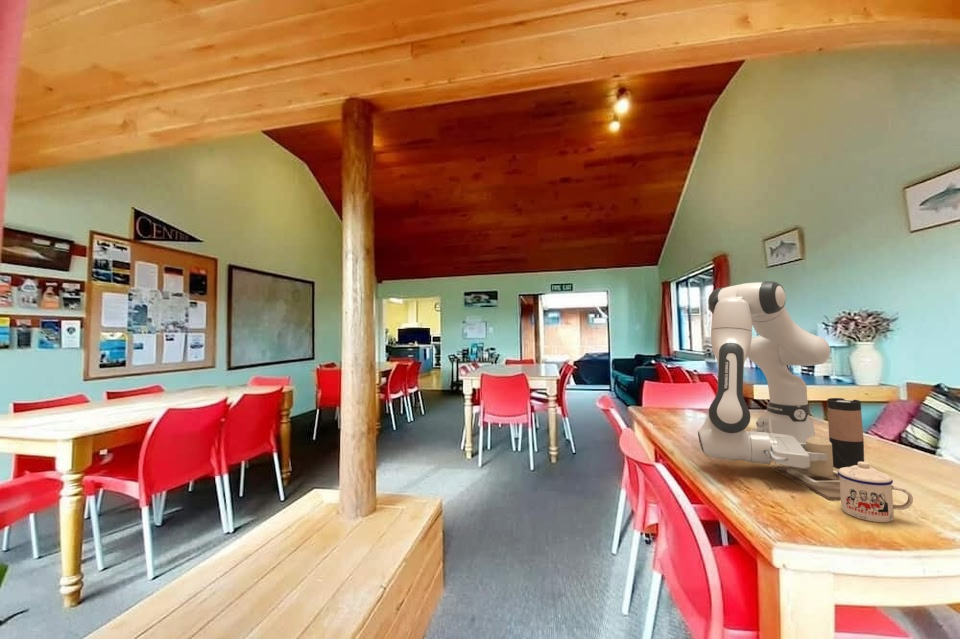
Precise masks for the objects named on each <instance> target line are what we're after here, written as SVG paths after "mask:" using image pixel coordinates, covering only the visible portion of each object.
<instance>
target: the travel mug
mask: <svg viewBox="0 0 960 639" xmlns="http://www.w3.org/2000/svg"><path fill="white" fill-rule="evenodd" d="M826 401H827V403H826V404H827V405H826V406H827V422H828V424H827V425H828V439H829V440H828V441H829V442H831V443H832V455H833V468H836V469H838V470H839V469H840V468H843V467H851V466H854V465H858V462H865V442H864V431H863V430H864V427H863V418H862V416H863V415H862V405H861V404H862V402H861V401H860V400H858V399H852V400H846V399H845V398H841V397H838V398H837V397H833V398H832V397H830V398H827V400H826Z"/></svg>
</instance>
